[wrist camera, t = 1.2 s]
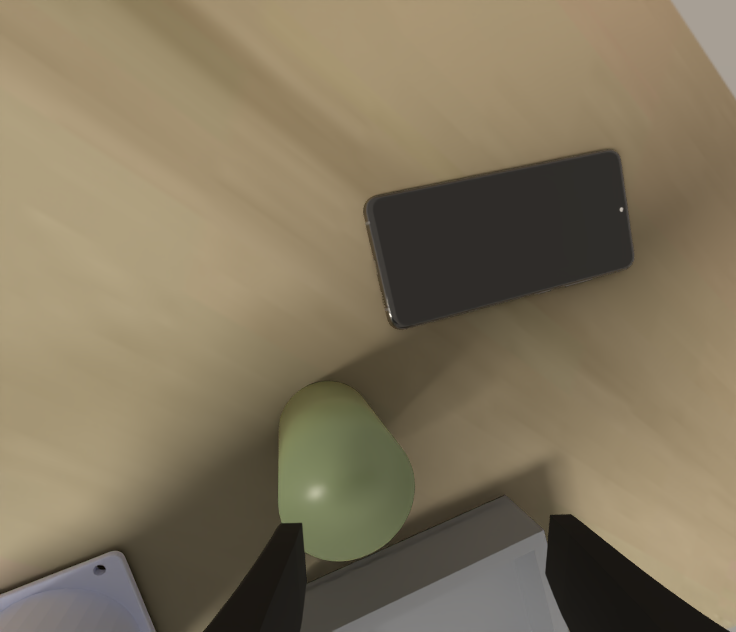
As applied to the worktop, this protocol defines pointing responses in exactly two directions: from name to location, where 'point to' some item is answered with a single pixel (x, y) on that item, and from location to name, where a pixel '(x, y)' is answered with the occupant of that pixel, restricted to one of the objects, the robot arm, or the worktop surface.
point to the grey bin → (445, 581)
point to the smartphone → (498, 236)
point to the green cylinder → (340, 473)
